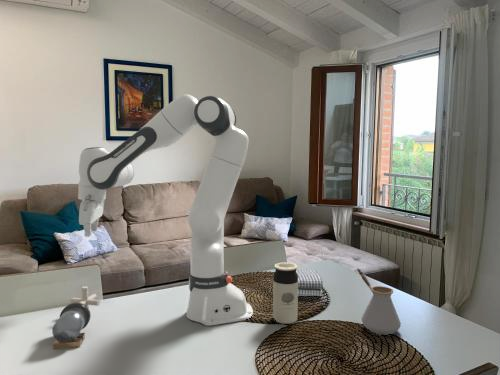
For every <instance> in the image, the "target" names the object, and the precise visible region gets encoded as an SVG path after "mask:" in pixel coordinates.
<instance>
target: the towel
mask: <svg viewBox="0 0 500 375" xmlns="http://www.w3.org/2000/svg"><path fill="white" fill-rule="evenodd" d="M296 273H297V275H298V296H322V297H323V288H324V285H323V280H322V277H321V276H320V274H318V272H317V270H316V269H296Z"/></svg>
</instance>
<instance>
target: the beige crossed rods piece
mask: <svg viewBox="0 0 500 375" xmlns="http://www.w3.org/2000/svg"><path fill="white" fill-rule="evenodd" d="M81 296H82V297H81V298H80V297H71V298H70V300H69V302H70V303H69V304H71V303H75V302H78V303H82V304H84V305H86V306H87V307H88V309H89V310H90V308H89V306H96V307H98V306H100V305H101V300H100V299H97V298H98V296H97V294H96V293H92V294H91V295H89V287H88V286H87V285H85V286H82V287H81Z"/></svg>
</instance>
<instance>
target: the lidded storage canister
mask: <svg viewBox="0 0 500 375" xmlns="http://www.w3.org/2000/svg"><path fill="white" fill-rule="evenodd" d="M91 317H92V315H91V311H90V308H89V309H88V307H87V306H86V305H84V304H82V303H78V302H75V303H68V304H67V305H66V306H65V307H63V309H62V310H61V312H60V314H59V318H58V319H57V321H56V322H55V324H54V325H53V327H52V330H51V332H52V333H51V334H52V336H53V338H54V342H53V343H52V350H59V349H75V348H81V346H82V345H83V344H82V343H83V342H84V340H85V339H86V332H82V330H83V329H85V328H86V327H87V326H88V324H89V323H90V320H91Z"/></svg>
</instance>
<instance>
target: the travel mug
mask: <svg viewBox="0 0 500 375" xmlns="http://www.w3.org/2000/svg"><path fill="white" fill-rule="evenodd" d="M274 270H275V271H274V273H273V282H272V283H273V285H272V286H273V288H272V289H273V290H272V291H273V292H272V293H273V294H272V298H273V299H272V302H273V303H272V319H273V318H274V319H275V320H276V321H275V320H274V319H273V320H274V321H275V322H276V323H279V324H283V325H285V324H286V325H290V324H292V323H295V322H297V321H298V304H299V302H298V301H299V297H298V275H297V273H296V270H298V265H297V264H295V263H293V262H278V263H275V264H274Z"/></svg>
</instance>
